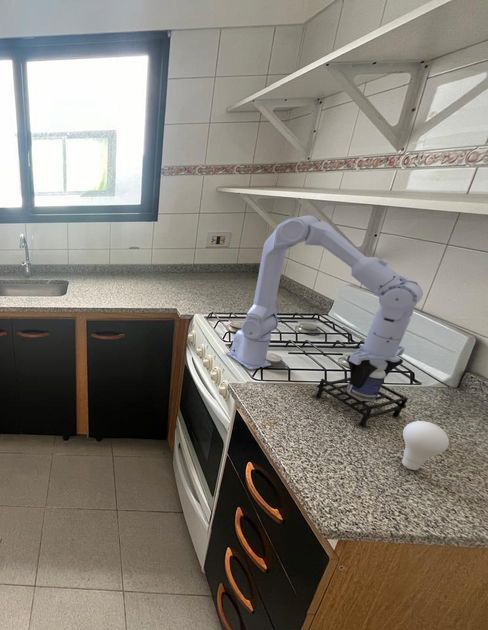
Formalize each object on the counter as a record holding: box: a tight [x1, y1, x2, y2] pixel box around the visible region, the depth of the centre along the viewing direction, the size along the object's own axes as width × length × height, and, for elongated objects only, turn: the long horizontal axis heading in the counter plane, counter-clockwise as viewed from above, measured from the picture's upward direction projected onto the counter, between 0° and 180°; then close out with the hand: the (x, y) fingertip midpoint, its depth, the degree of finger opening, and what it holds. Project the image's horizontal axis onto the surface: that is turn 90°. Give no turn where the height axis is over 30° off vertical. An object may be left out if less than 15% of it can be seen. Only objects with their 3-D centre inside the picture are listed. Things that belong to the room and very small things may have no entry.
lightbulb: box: [401, 420, 450, 471], centre depth 67 cm, size 6×6×11 cm
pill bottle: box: [346, 360, 387, 402], centre depth 83 cm, size 6×6×10 cm
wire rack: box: [315, 377, 409, 428], centre depth 85 cm, size 13×12×6 cm
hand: (364, 383), depth 83 cm, fingers closed on pill bottle, 6 cm apart
